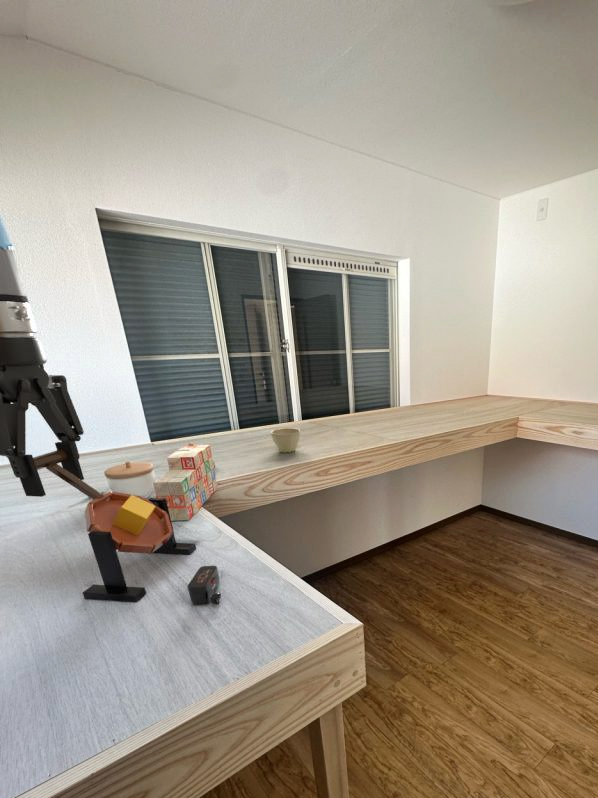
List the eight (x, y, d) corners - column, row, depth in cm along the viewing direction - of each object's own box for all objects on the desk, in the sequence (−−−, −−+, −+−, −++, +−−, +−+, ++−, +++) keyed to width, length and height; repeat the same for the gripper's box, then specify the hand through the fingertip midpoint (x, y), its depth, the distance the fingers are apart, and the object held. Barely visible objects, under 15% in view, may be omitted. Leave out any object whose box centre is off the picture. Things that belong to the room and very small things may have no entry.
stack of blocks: (189, 521, 93) (178, 468, 88) (160, 522, 92) (147, 469, 88) (218, 488, 112) (210, 443, 108) (194, 489, 112) (185, 444, 107)
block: (112, 524, 67) (121, 507, 66) (122, 511, 70) (131, 494, 69) (137, 535, 69) (146, 518, 67) (146, 522, 72) (155, 506, 70)
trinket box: (108, 496, 107) (98, 461, 104) (153, 487, 114) (145, 453, 110) (117, 508, 100) (106, 471, 96) (164, 497, 106) (156, 462, 103)
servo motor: (188, 608, 63) (184, 590, 62) (204, 582, 69) (200, 566, 68) (219, 607, 63) (215, 589, 62) (232, 581, 70) (229, 565, 68)
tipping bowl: (-3, 476, 61) (1, 464, 60) (67, 453, 73) (72, 442, 72) (135, 566, 65) (141, 555, 64) (181, 530, 77) (187, 521, 76)
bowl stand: (84, 598, 66) (62, 536, 61) (153, 546, 82) (139, 494, 77) (136, 602, 65) (118, 539, 60) (196, 548, 81) (185, 496, 76)
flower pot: (277, 447, 153) (275, 428, 150) (304, 447, 153) (302, 428, 150) (269, 454, 144) (267, 434, 141) (298, 454, 143) (296, 434, 141)
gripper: (-45, 336, 50) (22, 511, 59) (84, 335, 68) (120, 469, 77) (-99, 336, 51) (-25, 509, 60) (43, 335, 69) (83, 468, 78)
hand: (56, 486), depth 68 cm, fingers closed on tipping bowl, 7 cm apart
